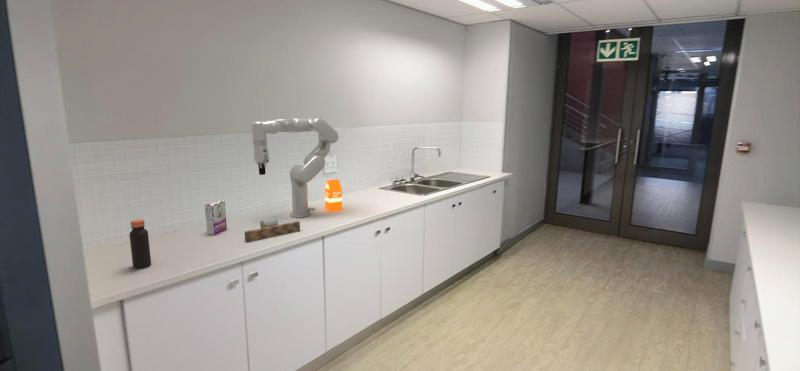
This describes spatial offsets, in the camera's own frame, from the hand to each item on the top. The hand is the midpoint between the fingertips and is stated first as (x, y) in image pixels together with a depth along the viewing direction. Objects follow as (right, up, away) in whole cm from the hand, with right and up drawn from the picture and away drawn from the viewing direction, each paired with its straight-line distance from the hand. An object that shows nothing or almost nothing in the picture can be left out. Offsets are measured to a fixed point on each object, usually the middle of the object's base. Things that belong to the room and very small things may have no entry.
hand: (262, 174), depth 252 cm
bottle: (-30, -41, -66) cm, 84 cm away
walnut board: (+13, -33, -23) cm, 42 cm away
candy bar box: (-19, -32, -17) cm, 41 cm away
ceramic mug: (+10, -32, -17) cm, 38 cm away
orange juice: (+36, -23, +34) cm, 55 cm away
